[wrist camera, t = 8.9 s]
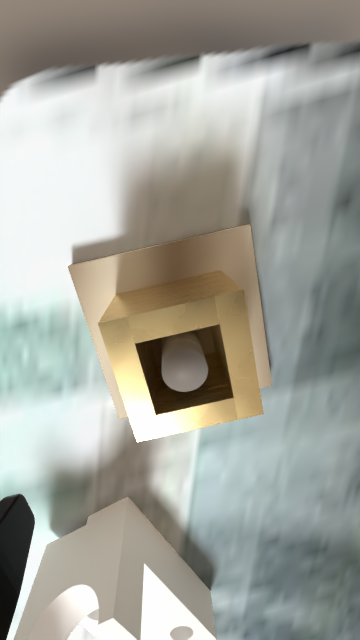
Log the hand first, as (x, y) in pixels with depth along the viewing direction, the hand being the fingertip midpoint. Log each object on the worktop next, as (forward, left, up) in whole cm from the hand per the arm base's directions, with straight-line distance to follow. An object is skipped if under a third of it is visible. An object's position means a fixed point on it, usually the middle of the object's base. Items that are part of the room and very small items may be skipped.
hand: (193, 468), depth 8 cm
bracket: (+8, +20, -12) cm, 24 cm away
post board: (0, 0, -11) cm, 11 cm away
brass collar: (0, 0, -10) cm, 10 cm away
